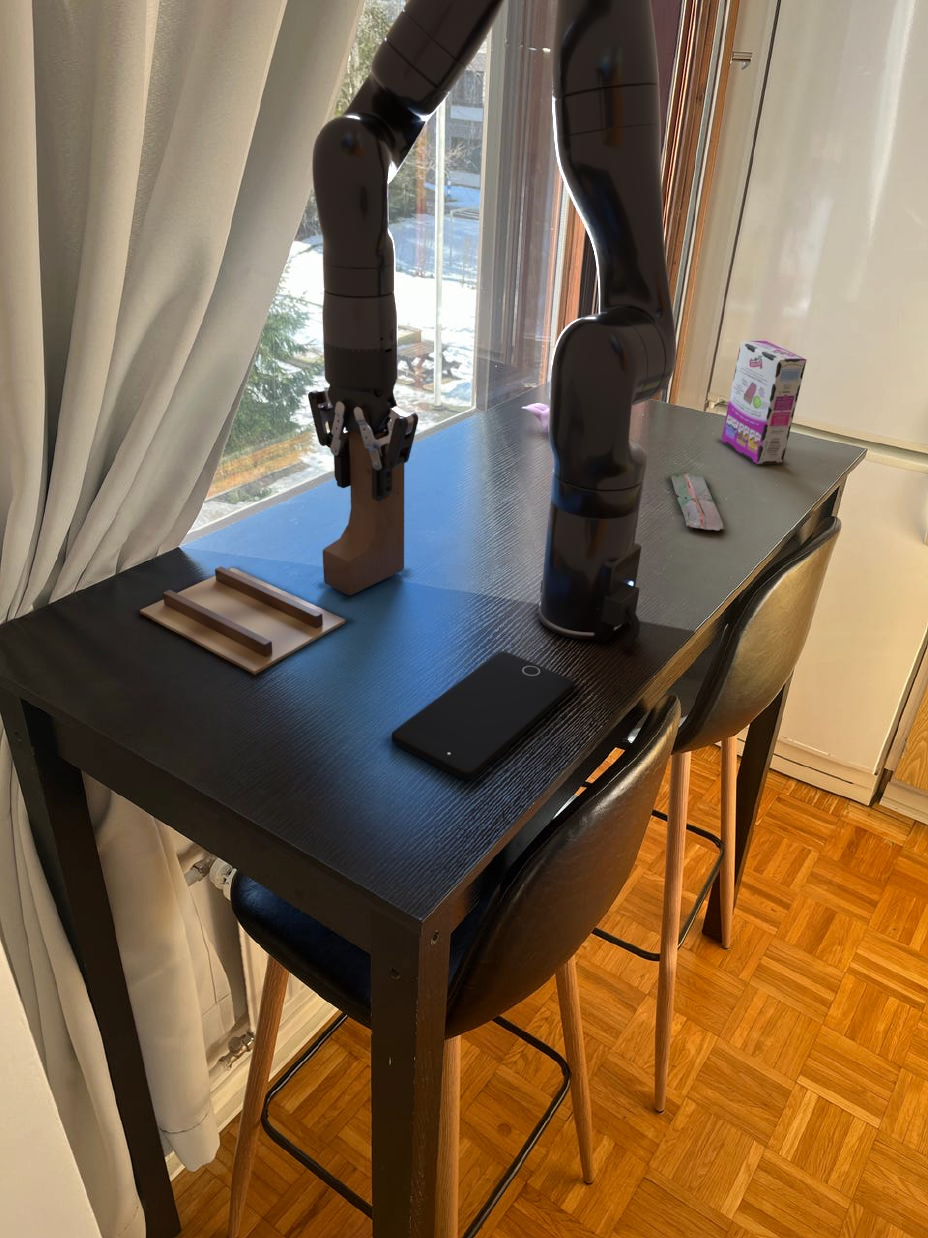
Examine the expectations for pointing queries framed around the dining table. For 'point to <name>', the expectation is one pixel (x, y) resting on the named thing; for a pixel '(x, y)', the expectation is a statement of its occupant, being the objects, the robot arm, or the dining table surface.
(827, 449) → the dining table surface
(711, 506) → the map
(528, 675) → the cell phone
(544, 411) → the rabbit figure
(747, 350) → the candy bar box
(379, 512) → the wooden block
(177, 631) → the guide
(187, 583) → the dining table surface
